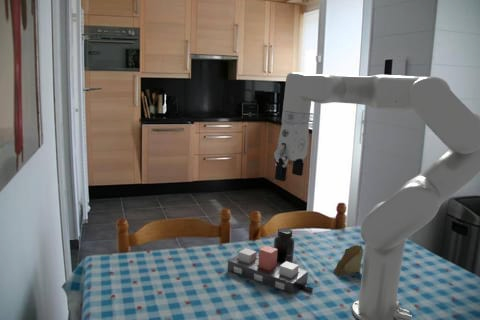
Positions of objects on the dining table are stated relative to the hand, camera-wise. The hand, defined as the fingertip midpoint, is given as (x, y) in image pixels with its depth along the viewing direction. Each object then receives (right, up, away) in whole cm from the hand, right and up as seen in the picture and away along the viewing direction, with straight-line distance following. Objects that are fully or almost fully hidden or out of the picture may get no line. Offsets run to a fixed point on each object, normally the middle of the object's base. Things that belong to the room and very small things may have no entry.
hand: (288, 177), depth 123 cm
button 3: (-12, -30, +15) cm, 36 cm away
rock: (+21, -32, +19) cm, 43 cm away
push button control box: (-4, -32, +10) cm, 34 cm away
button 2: (-5, -28, +11) cm, 31 cm away
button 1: (+1, -33, +7) cm, 33 cm away
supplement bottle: (0, -30, +22) cm, 37 cm away
